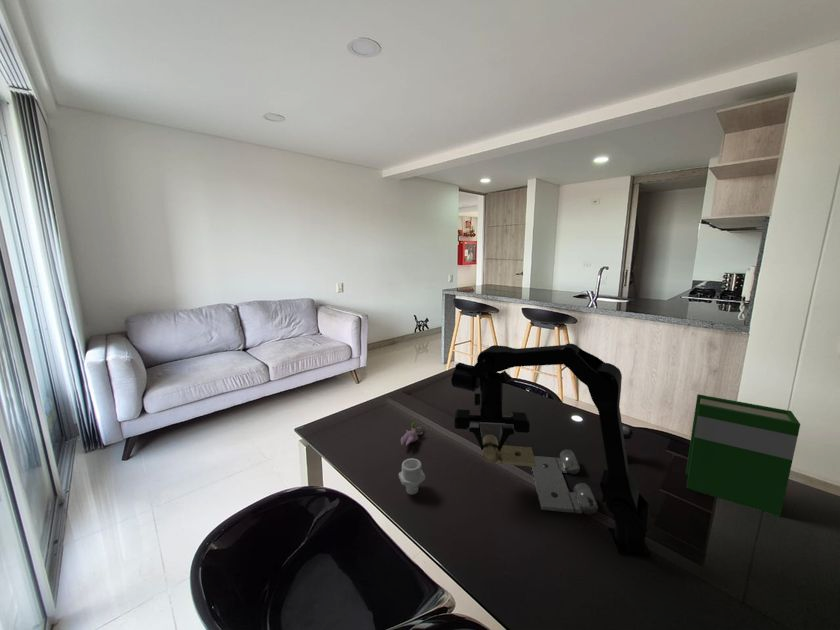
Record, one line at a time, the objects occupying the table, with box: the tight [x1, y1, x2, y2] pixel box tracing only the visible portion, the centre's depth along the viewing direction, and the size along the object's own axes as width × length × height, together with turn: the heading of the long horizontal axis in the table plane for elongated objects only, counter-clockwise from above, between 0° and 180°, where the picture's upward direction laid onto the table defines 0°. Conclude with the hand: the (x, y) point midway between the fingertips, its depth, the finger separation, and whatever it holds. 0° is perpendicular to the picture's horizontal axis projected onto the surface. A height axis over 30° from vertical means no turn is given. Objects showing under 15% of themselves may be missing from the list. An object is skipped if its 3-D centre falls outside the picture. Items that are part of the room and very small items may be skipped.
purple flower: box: [400, 422, 424, 446], centre depth 117 cm, size 6×6×15 cm
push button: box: [622, 424, 634, 449], centre depth 104 cm, size 7×5×10 cm
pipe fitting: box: [398, 457, 426, 495], centre depth 92 cm, size 6×7×8 cm
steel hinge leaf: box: [530, 448, 599, 515], centre depth 94 cm, size 21×13×4 cm, turn 171°
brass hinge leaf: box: [482, 434, 536, 467], centre depth 91 cm, size 7×13×4 cm, turn 81°
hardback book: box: [685, 393, 801, 517], centre depth 87 cm, size 18×7×24 cm, turn 55°
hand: (490, 449), depth 91 cm, fingers closed on brass hinge leaf, 4 cm apart
